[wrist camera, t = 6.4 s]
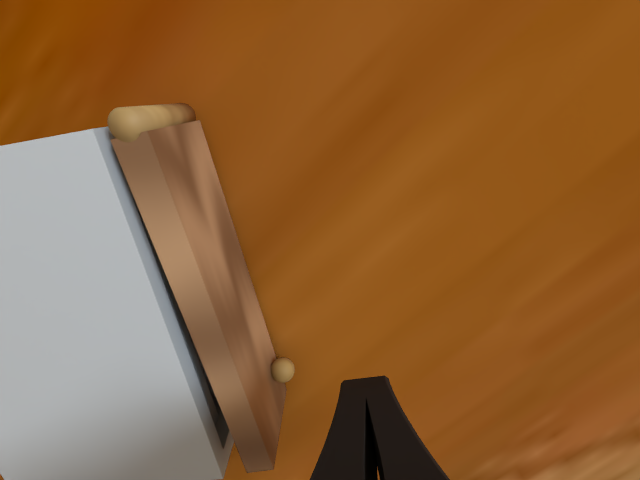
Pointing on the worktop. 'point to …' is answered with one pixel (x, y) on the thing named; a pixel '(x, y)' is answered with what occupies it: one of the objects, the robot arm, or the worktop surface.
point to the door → (205, 269)
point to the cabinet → (93, 329)
